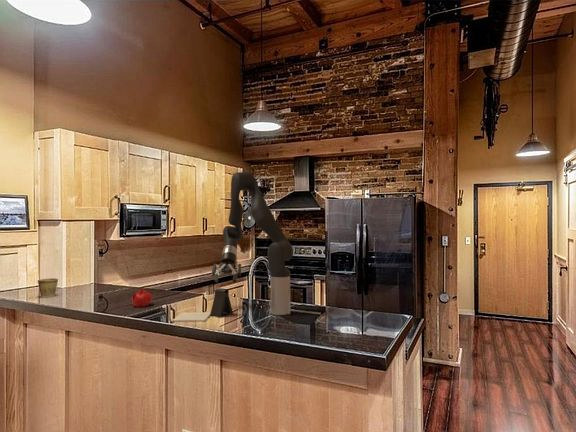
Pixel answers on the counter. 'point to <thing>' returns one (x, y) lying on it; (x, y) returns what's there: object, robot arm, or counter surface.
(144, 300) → the pomegranate
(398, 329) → the counter surface
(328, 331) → the counter surface
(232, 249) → the robot arm
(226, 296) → the phone stand
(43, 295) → the ceramic cup
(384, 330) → the counter surface
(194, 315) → the board
